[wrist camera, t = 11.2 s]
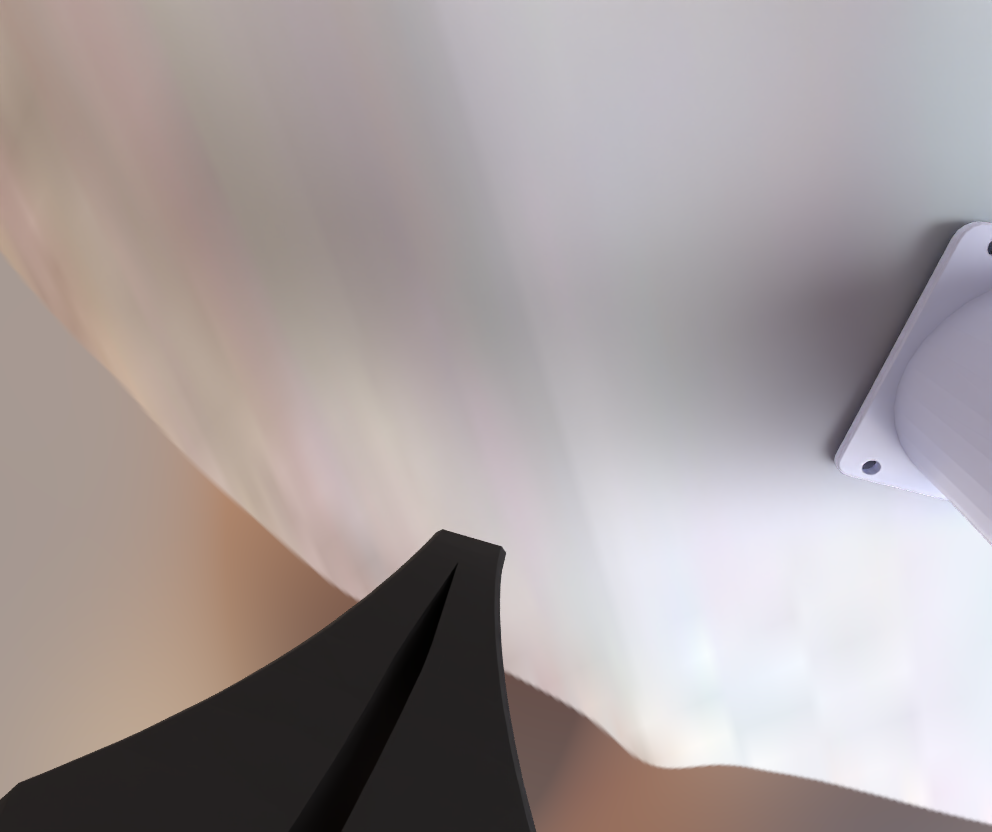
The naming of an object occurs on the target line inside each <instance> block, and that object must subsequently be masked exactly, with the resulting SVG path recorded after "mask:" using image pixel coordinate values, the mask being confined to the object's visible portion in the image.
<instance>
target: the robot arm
mask: <svg viewBox="0 0 992 832" xmlns="http://www.w3.org/2000/svg"><path fill="white" fill-rule="evenodd" d="M991 241H992V223H988V222H972V223H969V224H966V225H964V226H963V227H961V228H960V229H958V230H957V232H956V233H955V234H954V235H953V237H952V238H951V240H950V242H949V244H948V246H947V248H946V250H945V251H944V253H943V255H942V257H941V259H940V261H939V263H938V264H937V266H936V268H935V270H934V272H933V274H932V276H931V278H930V279H929V281H928V283H927V285H926V287H925V289H924V291H923V292H922V294H921V296H920V298H919V300H918V302H917V304H916V305H915V307H914V309H913V311H912V313H911V315H910V317H909V319H908V320H907V322H906V324H905V326H904V328H903V330H902V332H901V333H900V335H899V337H898V339H897V341H896V343H895V345H894V347H893V348H892V350H891V352H890V354H889V356H888V358H887V360H886V361H885V363H884V365H883V367H882V369H881V371H880V373H879V374H878V376H877V378H876V380H875V382H874V384H873V386H872V388H871V389H870V391H869V393H868V395H867V397H866V399H865V401H864V402H863V404H862V406H861V408H860V410H859V412H858V414H857V415H856V417H855V419H854V421H853V423H852V425H851V427H850V429H849V430H848V432H847V434H846V436H845V438H844V440H843V442H842V443H841V445H840V447H839V449H838V451H837V453H836V455H835V458H834V461H835V465H836V466H837V468H838V469H839V470H840V472H841V473H843V474H845V475H847V476H851V477H855V478H859V479H863V480H867V481H871V482H875V483H879V484H882V485H886V486H890V487H894V488H898V489H902V490H906V491H910V492H914V493H918V494H922V495H926V496H930V497H934V498H938V499H942V500H946V501H950V502H951V503H952V505H953V506H954V507H955V508H956V509H957V510H958V511H959V512H960V513H961V514H962V515H963V516H964V517H965V518H966V519H967V520H968V521H969V522H970V523H971V524H972V525H973V527H974V528H975V529H976V530H977V531H978V532H979V533H980V534H981V535H982V536H983V537H984V538H985V539H986V540H987V541H988V542H989V543H990V544H991V545H992V254H989V253H988V250H987V249H988V245H989V243H990V242H991ZM868 461H876V463H875V465H874V466H873V467H871V468H868V469H863V468H862V466H863V465H864V464H865V463H866V462H868ZM505 556H506V552H505V551H504V549H503V548H502V546H498V545H495V544H491V543H488V542H484V541H481V540H477V539H474V538H471V537H467V536H464V535H460V534H457V533H453V532H450V531H447V530H443V529H442V530H440V531H438V532H436V533H435V534H434V535H433V537H432V538H431V539H430V540H429V541H428V542H427V543H426V544H425V545H424V546H423V547H422V548H421V549H420V550H419V551H418V552H417V553H416V554H414V555H413V556H412V557H411V558H410V559H409V560H408V561H407V562H406V563H405V564H404V565H403V566H401V567H400V568H399V569H398V570H397V571H396V572H395V573H393V574H392V575H391V576H390V577H389V578H388V579H386V580H385V581H384V582H383V583H382V584H380V585H379V586H378V587H377V588H376V589H375V590H373V591H372V592H371V593H370V594H369V595H367V596H366V597H365V598H364V599H362V600H361V601H360V602H358V603H357V604H356V605H354V606H353V607H352V608H350V609H349V610H348V611H346V612H345V613H344V614H342V615H341V616H340V617H338V618H337V619H336V620H335V621H333V622H332V623H331V624H329V625H328V626H326V627H325V628H323V629H322V630H321V631H319V632H318V633H317V634H315V635H313V636H312V637H310V638H309V639H308V640H306V641H305V642H303V643H301V644H300V645H298V646H297V647H295V648H294V649H292V650H291V651H289V652H287V653H286V654H284V655H283V656H281V657H280V658H278V659H276V660H275V661H273V662H271V663H270V664H268V665H266V666H265V667H263V668H261V669H259V670H258V671H256V672H254V673H253V674H251V675H249V676H247V677H246V678H244V679H242V680H241V681H239V682H237V683H235V684H234V685H232V686H230V687H228V688H226V689H224V690H223V691H221V692H219V693H217V694H215V695H213V696H211V697H209V698H208V699H206V700H204V701H202V702H200V703H198V704H196V705H193V706H191V707H189V708H187V709H185V710H183V711H181V712H179V713H177V714H175V715H173V716H171V717H169V718H167V719H165V720H163V721H161V722H159V723H157V724H155V725H153V726H151V727H149V728H147V729H145V730H143V731H141V732H138V733H136V734H134V735H132V736H129V737H127V738H125V739H123V740H121V741H119V742H116V743H114V744H111V745H109V746H107V747H104V748H102V749H100V750H97V751H95V752H92V753H90V754H88V755H85V756H83V757H80V758H78V759H76V760H73V761H71V762H69V763H66V764H64V765H62V766H59V767H57V768H54V769H52V770H50V771H47V772H45V773H42V774H40V775H37V776H35V777H32V778H30V779H28V780H25V781H22V782H20V783H18V784H17V785H16V786H15V787H14V788H13V789H12V790H11V791H9V792H8V794H6V795H5V796H4V797H3V798H2V799H1V800H0V832H536V829H535V825H534V821H533V818H532V814H531V810H530V806H529V803H528V799H527V795H526V791H525V787H524V783H523V778H522V774H521V769H520V764H519V759H518V755H517V750H516V745H515V740H514V734H513V729H512V724H511V718H510V712H509V706H508V699H507V692H506V684H505V676H504V667H503V657H502V646H501V627H500V584H501V574H502V569H503V564H504V560H505Z"/></svg>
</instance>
